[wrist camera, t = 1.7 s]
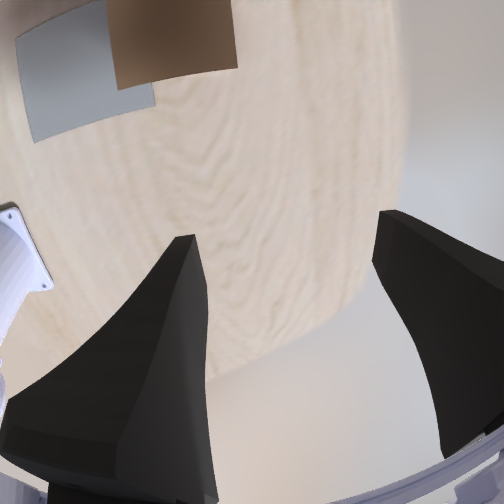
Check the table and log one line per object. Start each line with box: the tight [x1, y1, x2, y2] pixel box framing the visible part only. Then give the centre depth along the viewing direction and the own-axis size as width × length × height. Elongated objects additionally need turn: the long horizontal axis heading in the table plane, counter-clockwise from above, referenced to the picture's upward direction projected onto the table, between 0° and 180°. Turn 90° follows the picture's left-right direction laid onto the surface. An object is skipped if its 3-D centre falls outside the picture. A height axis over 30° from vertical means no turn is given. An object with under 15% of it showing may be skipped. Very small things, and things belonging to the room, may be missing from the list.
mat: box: [15, 0, 156, 143], centre depth 13 cm, size 9×8×1 cm
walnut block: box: [106, 0, 238, 91], centre depth 10 cm, size 4×5×8 cm
